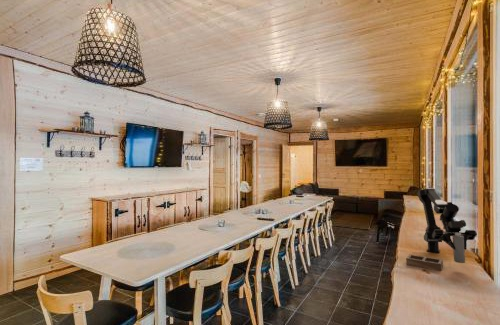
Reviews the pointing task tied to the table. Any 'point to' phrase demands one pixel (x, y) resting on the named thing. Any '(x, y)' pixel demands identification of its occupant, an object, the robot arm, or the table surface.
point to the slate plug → (459, 248)
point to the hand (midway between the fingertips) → (460, 249)
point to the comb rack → (425, 262)
